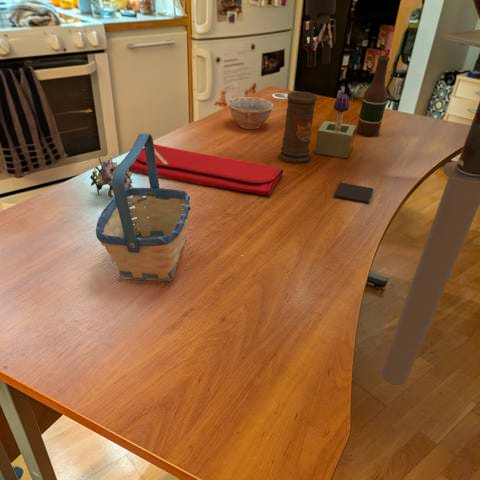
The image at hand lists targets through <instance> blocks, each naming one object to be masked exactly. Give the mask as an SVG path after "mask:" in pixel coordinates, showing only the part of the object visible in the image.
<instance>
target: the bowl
mask: <svg viewBox="0 0 480 480" xmlns="http://www.w3.org/2000/svg"><path fill="white" fill-rule="evenodd" d="M227 105H228V107H229V111H230V114H231V116H232V118H233V120H234V121H235V122H236V123H237V124H239V127H241V128H242V129H246V130H256V129H258V128H260V125H262V124H264V123H265V122H267V120H268V119H269V117H270V116H271V112H272V111H273V109H274V107H275V105H274V103H273V102H271V101H270V100H267V99H264V98H261V97H254V96H253V97H250V96H241V97H233V98H231V99H229V100H228V101H227Z"/></svg>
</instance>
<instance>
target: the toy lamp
mask: <svg viewBox="0 0 480 480" xmlns="http://www.w3.org/2000/svg"><path fill="white" fill-rule="evenodd" d="M349 109H350V103H349V95H348V94H347V93H339V94H338V95H337V96H336V99H335V102H334V104H333V110H335V111H337V115H336V120H335V122H336V126H335V131H339V132H340V129H341V123H343V118H344V117H343V116H344V113H345V112H348V111H349Z"/></svg>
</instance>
